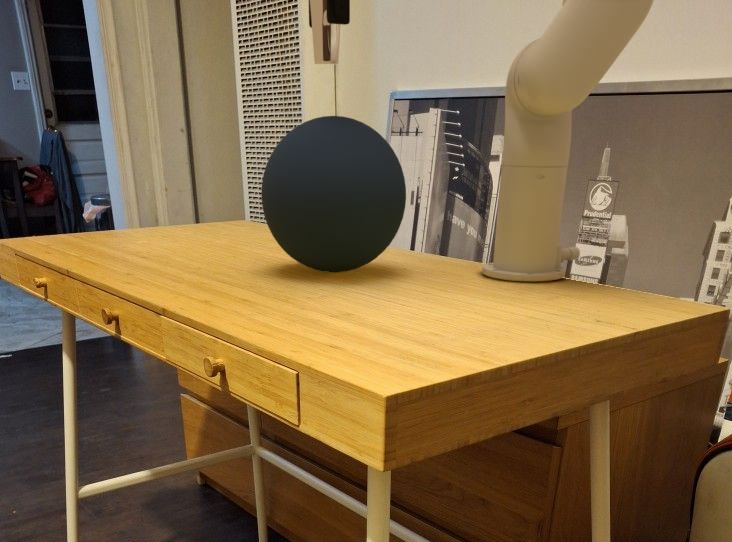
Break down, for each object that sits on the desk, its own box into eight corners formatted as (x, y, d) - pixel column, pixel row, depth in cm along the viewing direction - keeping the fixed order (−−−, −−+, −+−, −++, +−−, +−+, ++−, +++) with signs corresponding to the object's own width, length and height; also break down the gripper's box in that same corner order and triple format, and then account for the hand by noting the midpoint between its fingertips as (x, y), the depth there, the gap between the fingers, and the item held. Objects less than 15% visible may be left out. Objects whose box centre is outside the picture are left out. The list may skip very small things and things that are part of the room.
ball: (361, 257, 133) (363, 117, 123) (430, 277, 116) (438, 116, 106) (244, 266, 124) (235, 115, 114) (300, 289, 107) (296, 113, 97)
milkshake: (349, 63, 103) (350, -25, 99) (310, 63, 103) (309, -26, 98) (347, 65, 107) (347, -20, 103) (309, 65, 107) (308, -21, 102)
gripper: (387, -161, 90) (384, 20, 98) (323, -123, 103) (325, 33, 112) (331, -171, 87) (333, 17, 95) (272, -132, 100) (278, 30, 108)
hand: (329, 24), depth 103 cm, fingers closed on milkshake, 4 cm apart
